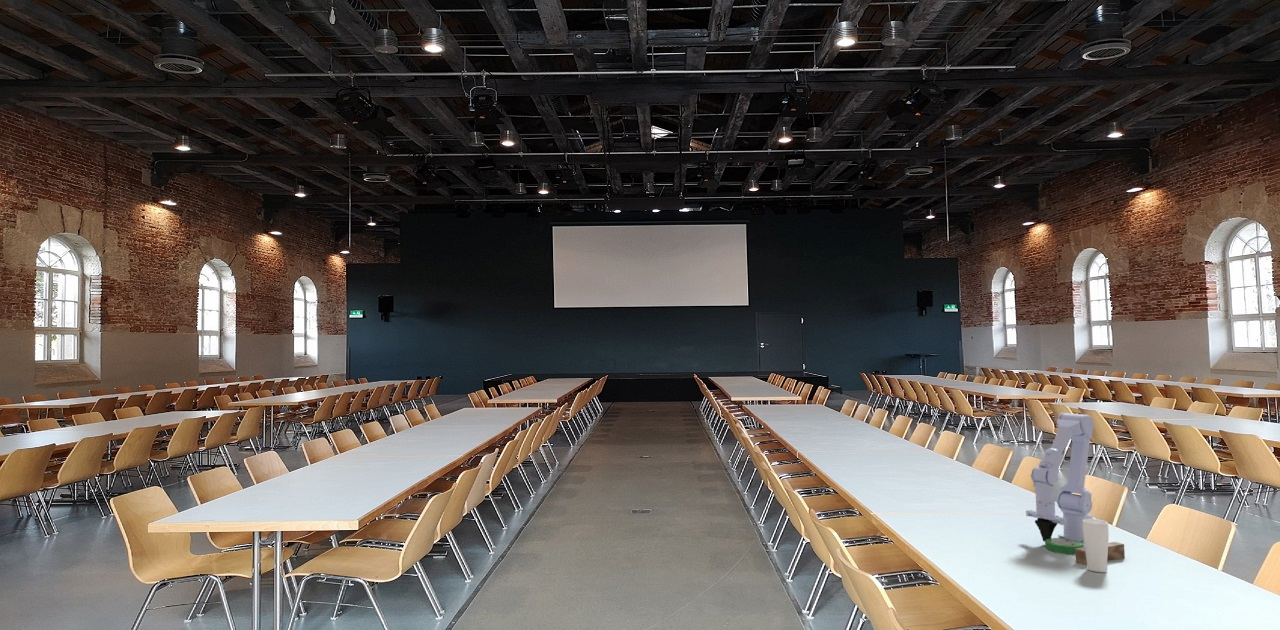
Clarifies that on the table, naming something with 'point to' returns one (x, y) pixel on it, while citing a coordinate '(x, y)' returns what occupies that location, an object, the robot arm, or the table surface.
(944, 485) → the table surface
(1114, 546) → the brown wooden bar
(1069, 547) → the tape roll
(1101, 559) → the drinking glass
